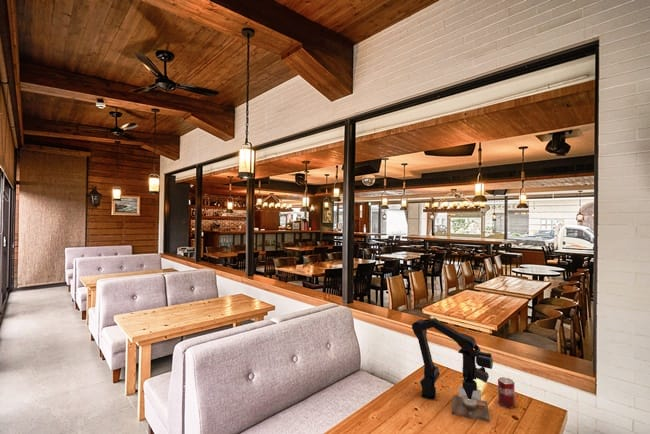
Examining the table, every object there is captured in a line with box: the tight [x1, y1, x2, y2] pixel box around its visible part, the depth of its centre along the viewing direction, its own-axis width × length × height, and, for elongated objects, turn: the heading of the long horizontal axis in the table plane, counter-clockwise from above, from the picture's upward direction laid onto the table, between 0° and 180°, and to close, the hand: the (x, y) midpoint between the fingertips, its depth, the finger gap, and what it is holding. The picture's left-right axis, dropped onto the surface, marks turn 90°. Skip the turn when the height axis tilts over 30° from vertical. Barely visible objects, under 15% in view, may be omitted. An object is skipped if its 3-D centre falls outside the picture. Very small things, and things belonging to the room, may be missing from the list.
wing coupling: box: [458, 385, 485, 410], centre depth 157 cm, size 12×7×8 cm, turn 67°
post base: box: [451, 394, 490, 423], centre depth 157 cm, size 16×15×2 cm
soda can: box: [497, 376, 516, 409], centre depth 160 cm, size 7×7×12 cm
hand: (469, 395), depth 157 cm, fingers open, 8 cm apart
